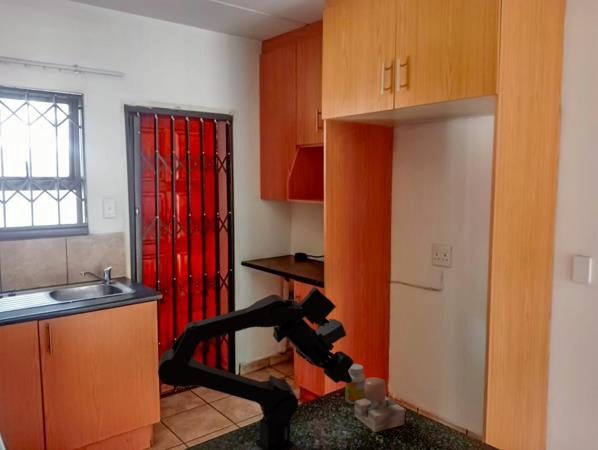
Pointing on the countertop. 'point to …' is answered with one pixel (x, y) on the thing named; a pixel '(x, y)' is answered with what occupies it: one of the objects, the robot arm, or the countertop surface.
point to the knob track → (380, 414)
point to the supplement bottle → (355, 384)
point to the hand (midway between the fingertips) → (343, 376)
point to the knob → (374, 392)
